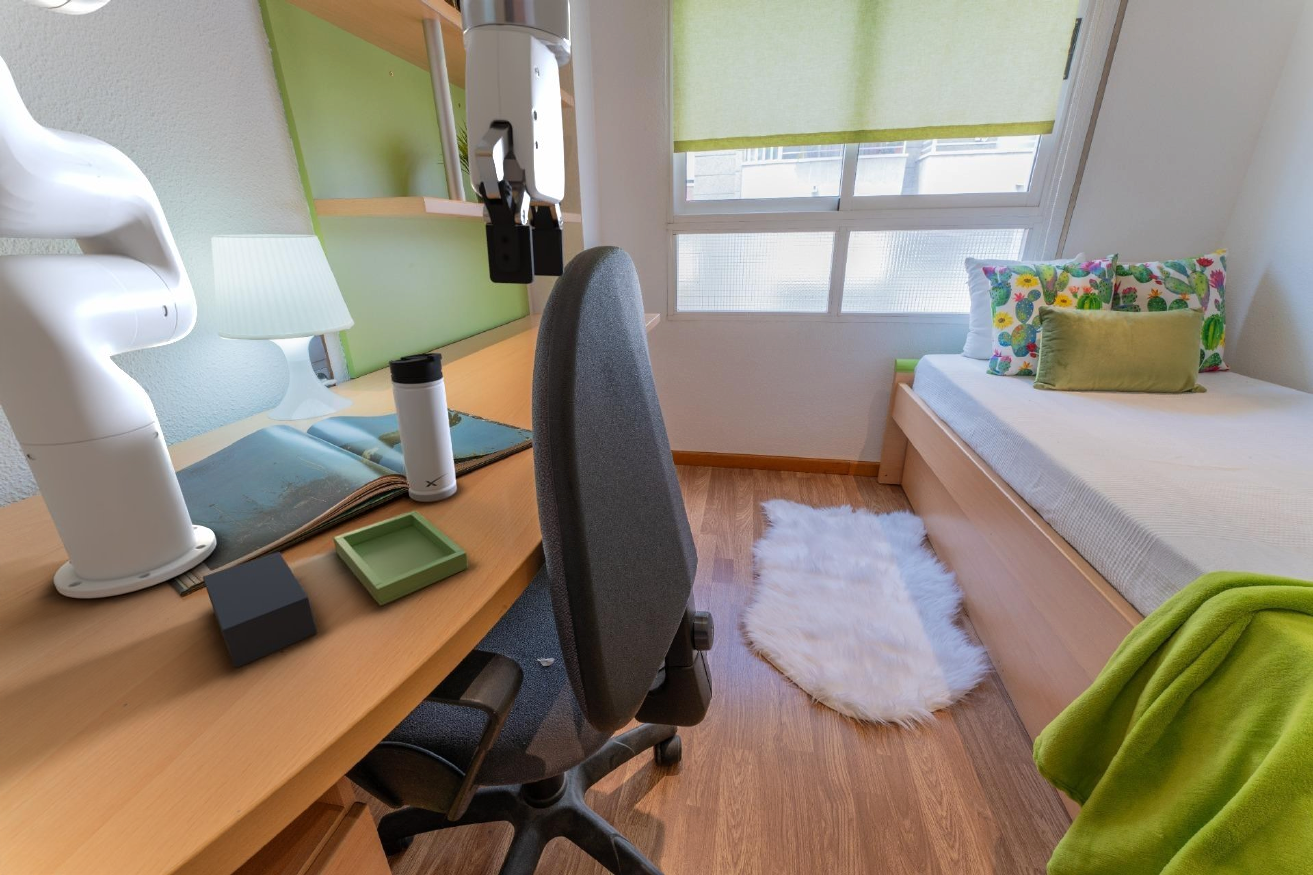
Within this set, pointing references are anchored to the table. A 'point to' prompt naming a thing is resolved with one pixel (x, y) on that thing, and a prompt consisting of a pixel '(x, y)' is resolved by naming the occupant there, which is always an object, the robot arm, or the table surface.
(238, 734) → the table surface
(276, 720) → the table surface
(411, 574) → the frame
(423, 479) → the travel mug
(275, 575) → the dark gray block
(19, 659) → the table surface
